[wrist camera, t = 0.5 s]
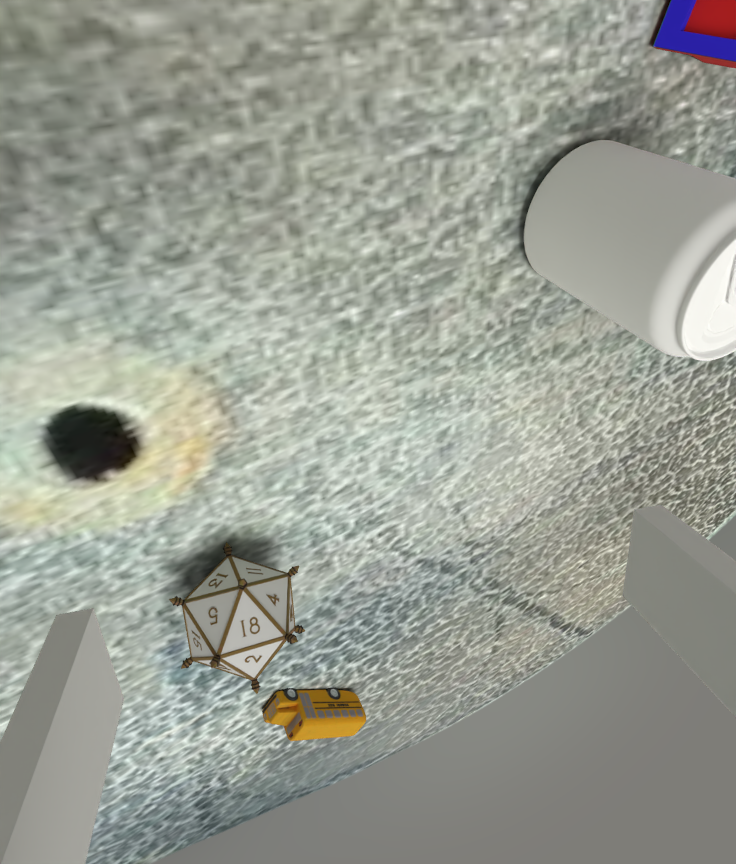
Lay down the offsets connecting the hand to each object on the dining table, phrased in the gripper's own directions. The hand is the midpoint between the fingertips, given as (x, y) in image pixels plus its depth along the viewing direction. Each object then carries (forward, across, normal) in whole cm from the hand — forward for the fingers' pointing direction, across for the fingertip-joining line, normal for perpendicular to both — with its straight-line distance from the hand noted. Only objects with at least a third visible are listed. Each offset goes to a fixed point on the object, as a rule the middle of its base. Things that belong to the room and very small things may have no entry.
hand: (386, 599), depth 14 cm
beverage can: (+23, +17, +7) cm, 30 cm away
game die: (+24, -7, -16) cm, 30 cm away
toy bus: (+32, -3, -37) cm, 49 cm away
